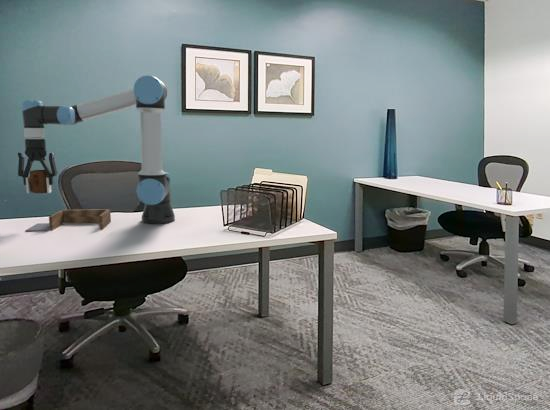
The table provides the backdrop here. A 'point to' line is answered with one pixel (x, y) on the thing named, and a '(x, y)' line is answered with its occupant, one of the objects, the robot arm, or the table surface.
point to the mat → (39, 227)
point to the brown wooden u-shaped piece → (80, 217)
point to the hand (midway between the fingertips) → (39, 192)
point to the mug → (38, 181)
